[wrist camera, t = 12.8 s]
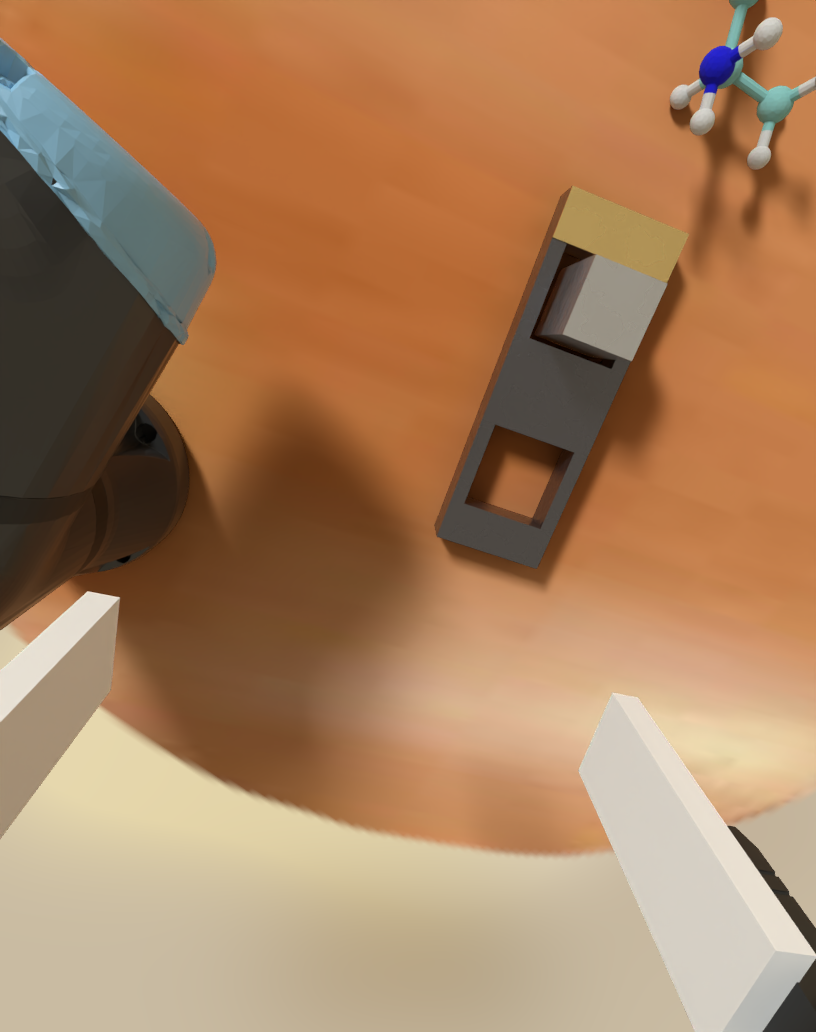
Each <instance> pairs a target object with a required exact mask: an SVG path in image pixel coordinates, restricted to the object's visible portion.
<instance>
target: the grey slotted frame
mask: <svg viewBox="0 0 816 1032" xmlns="http://www.w3.org/2000/svg"><path fill="white" fill-rule="evenodd" d="M688 235H689V234H688V233H685V232H683V231H680V230H678V229H676V228H673V227H671V226H668V225H666V224H664V223H661V222H659V221H656V220H654V219H652V218H649V217H647V216H644V215H642V214H640V213H637V212H635V211H632V210H630V209H628V208H625V207H623V206H620V205H618V204H616V203H613V202H611V201H608V200H606V199H604V198H601V197H599V196H596V195H594V194H592V193H589V192H587V191H584V190H582V189H580V188H577V187H575V186H572V187H571V188H569V189H568V190H567V191H566V192H565V193H564V194H563V195H562V196H561V197H560V199H559V202H558V205H557V207H556V210H555V212H554V215H553V218H552V220H551V223H550V225H549V228H548V231H547V233H546V236H545V239H544V241H543V244H542V246H541V249H540V252H539V254H538V257H537V259H536V262H535V265H534V267H533V270H532V272H531V275H530V278H529V280H528V283H527V285H526V288H525V291H524V293H523V296H522V299H521V301H520V304H519V306H518V309H517V312H516V314H515V317H514V319H513V322H512V325H511V327H510V330H509V332H508V335H507V338H506V340H505V343H504V346H503V348H502V351H501V353H500V356H499V359H498V361H497V364H496V366H495V369H494V372H493V374H492V377H491V379H490V382H489V385H488V387H487V390H486V392H485V395H484V398H483V400H482V403H481V406H480V408H479V411H478V413H477V416H476V419H475V421H474V424H473V426H472V429H471V432H470V434H469V437H468V439H467V442H466V445H465V447H464V450H463V452H462V455H461V458H460V460H459V463H458V466H457V468H456V471H455V473H454V476H453V479H452V481H451V484H450V486H449V489H448V492H447V494H446V497H445V499H444V502H443V505H442V507H441V510H440V513H439V515H438V518H437V520H436V523H435V530H436V535H437V537H440V538H443V539H446V540H449V541H452V542H455V543H458V544H462V545H465V546H468V547H471V548H474V549H477V550H480V551H483V552H486V553H489V554H492V555H495V556H498V557H502V558H505V559H508V560H511V561H514V562H517V563H520V564H523V565H526V566H529V567H532V568H535V569H537V567H538V565H539V563H540V561H541V558H542V556H543V554H544V552H545V550H546V547H547V545H548V543H549V541H550V539H551V536H552V534H553V532H554V530H555V528H556V525H557V523H558V521H559V519H560V517H561V514H562V512H563V510H564V508H565V505H566V503H567V501H568V499H569V497H570V494H571V492H572V490H573V488H574V486H575V483H576V481H577V479H578V477H579V475H580V472H581V470H582V468H583V466H584V464H585V461H586V459H587V457H588V455H589V453H590V450H591V448H592V446H593V444H594V441H595V439H596V437H597V435H598V433H599V430H600V428H601V426H602V424H603V422H604V419H605V417H606V415H607V413H608V411H609V408H610V406H611V404H612V402H613V400H614V397H615V395H616V393H617V391H618V388H619V386H620V384H621V382H622V380H623V377H624V375H625V373H626V371H627V369H628V366H629V364H630V362H631V361H624V360H613V359H602V361H601V363H600V365H599V364H597V363H594V362H591V361H589V360H586V359H583V358H581V357H578V356H575V355H573V354H570V353H568V352H565V351H562V350H560V349H557V348H554V347H552V346H549V345H546V344H544V343H541V342H538V341H536V340H533V339H530V336H531V333H532V330H533V328H534V325H535V323H536V320H537V318H538V315H539V313H540V310H541V308H542V305H543V303H544V300H545V298H546V295H547V293H548V290H549V287H550V285H551V282H552V280H553V277H554V275H555V272H556V270H557V267H558V265H559V262H560V260H561V257H562V255H563V252H564V253H566V254H569V255H571V256H574V257H576V258H579V259H581V260H584V259H586V258H589V257H591V256H593V255H595V254H597V255H600V256H602V257H604V258H607V259H609V260H612V261H614V262H616V263H619V264H621V265H624V266H626V267H629V268H631V269H633V270H636V271H638V272H641V273H643V274H645V275H648V276H650V277H653V278H655V279H658V280H660V281H662V282H665V283H667V282H668V280H669V277H670V275H671V273H672V271H673V269H674V266H675V264H676V262H677V260H678V258H679V255H680V253H681V251H682V249H683V246H684V244H685V242H686V240H687V238H688ZM495 425H498V426H501V427H504V428H506V429H509V430H512V431H515V432H518V433H521V434H523V435H526V436H529V437H532V438H535V439H537V440H540V441H543V442H546V443H549V444H552V445H554V446H557V447H560V448H563V450H562V452H561V455H560V457H559V459H558V461H557V464H556V466H555V468H554V471H553V473H552V475H551V477H550V480H549V482H548V484H547V487H546V489H545V491H544V493H543V496H542V498H541V500H540V503H539V505H538V507H537V509H536V512H535V514H534V516H533V519H532V518H529V517H526V516H523V515H521V514H518V513H515V512H512V511H509V510H506V509H503V508H500V507H497V506H494V505H491V504H488V503H485V502H482V501H479V500H476V499H473V498H470V497H467V495H468V492H469V490H470V487H471V485H472V482H473V480H474V477H475V475H476V472H477V470H478V467H479V465H480V462H481V460H482V457H483V454H484V452H485V449H486V447H487V444H488V442H489V439H490V437H491V434H492V432H493V429H494V427H495Z"/></svg>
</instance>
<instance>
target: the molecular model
mask: <svg viewBox="0 0 816 1032" xmlns="http://www.w3.org/2000/svg"><path fill="white" fill-rule="evenodd" d="M757 1H758V0H729V3H730V4H731V5H732V7H733V8H734V9H735V13H734V16H733V20H732V24H731V27H730V30H729V34H728V38H727V41H726V45H725V46H719V47H717V48H714V49H713V50H711V51H710V52H709V53H708V54H707V55H706V56H705V57H704V59H703V61H702V63H701V65H700V70H699V77H700V79H698V80H697V81H695V82H694V83H692V84H691V85H689V86H687V85H680V86H678V87H676V88H675V90H674V91H673V92H672V94H671V96H670V104H671V106H672V107H673V108H674V109H678V110H679V109H682V108H684V107H685V106H687V105H688V104H689V102H690V100H691V97H692V96H693V95H695V94H697V93H698V92H700V91H701V90H703V89H704V88H705V91H704V95H703V98H702V102H701V106H700V109H699V110H698V111H697V112H696V113H695V114H694V115H693V116H692V118H691V120H690V130H691V131H692V133H693V134H695V135H703V134H705V133H707V132H708V131H710V129H711V128H712V126H713V125H714V121H715V114H714V112H713V111H712V106H713V103H714V99H715V96H716V92H717V89H723V88H726V87H728V86H730V85H731V84H734V85H735V86H737V87H738V88H739V89H741V90H742V91H744V92H745V93H746V94H748V95H749V96H750V97H752V98H753V99H755V100H756V101H757V102H759V103H758V106H757V116H758V118H759V120H760V121H761V122H762V123H764V125H763V128H762V132H761V134H760V137H759V141H758V144H757V147H756V148H754V149H753V150H752V151H751V152H750V154H749V155H748V158H747V164H748V166H749V167H750V168H751V169H754V170H757V169H761V168H763V167H764V166H765V165H766V164H767V163H768V162H769V160H770V158H771V151H770V149H769V148H768V145H769V142H770V139H771V136H772V132H773V129H774V126H775V123H777V122H780V121H782V120H783V119H784V118H785V117H786V116H787V115H788V114H789V112H790V111H791V109H792V107H793V104H794V101H796V100H798V99H799V98H801V97H803V96H805V95H807V94H809V93H810V92H812V91H814V90H816V77H814V78H812V79H810V80H809V81H807V82H805V83H803V84H801V85H800V86H798V87H796V88H794V89H792V90H791V89H790V88H788V87H787V86H777V87H774V88H772V89H770V90H769V91H767V90H766V89H764V88H763V87H762V86H760V85H759V84H757V83H756V82H755V81H754V80H752V79H751V78H749V77H748V76H747V75H745V74H744V73H743V72H741V71H742V68H743V58H744V57H745V56H747V55H748V54H750V53H751V52H753V51H754V50H756V49H759V50H767V49H769V48H771V47H773V46H774V45H775V44H776V43H777V42H778V40H779V38H780V36H781V34H782V30H783V25H782V23H781V21H780V20H779V19H777V18H768V19H766V20H764V21H763V22H762V23H761V24H759V26H758V27H757V29H756V30H755V33H754V36H752V37H751V38H749V39H748V40H746V41H745V42H743V43H742V44H740V45H739V46H737V44H738V41H739V37H740V34H741V30H742V27H743V23H744V20H745V16H746V13H747V9H748V8H750V7H752V6H753V5H754V4H755V3H756V2H757Z"/></svg>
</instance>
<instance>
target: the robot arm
mask: <svg viewBox="0 0 816 1032" xmlns="http://www.w3.org/2000/svg"><path fill="white" fill-rule="evenodd" d="M215 270H216V254H215V249H214V245H213V242H212V240H211V237H210V235H209V233H208V232H207V230H206V229H205V227H204V226H203V225H202V223H201V222H200V221H199V220H198V219H197V218H196V217H195V216H194V215H193V214H192V213H191V212H190V211H189V210H188V209H187V208H186V207H185V206H184V205H183V204H182V203H181V202H180V201H179V200H178V199H177V198H176V197H175V196H174V195H173V194H172V193H171V192H170V191H168V190H167V189H166V188H165V187H164V186H163V185H162V184H161V183H160V182H159V181H158V180H157V179H156V178H155V177H154V176H152V175H151V174H150V173H149V172H148V171H147V170H146V169H145V168H144V167H143V166H142V165H141V164H140V163H139V162H137V161H136V160H135V159H134V158H133V157H132V156H131V155H130V154H129V153H128V152H127V151H126V150H125V149H123V148H122V147H121V146H120V145H119V144H118V143H117V142H116V141H115V140H114V139H113V138H111V137H110V136H109V135H108V134H107V133H106V132H105V131H104V130H103V129H102V128H100V127H99V126H98V125H97V124H96V123H95V122H94V121H93V120H92V119H91V118H90V117H88V116H87V115H86V114H85V113H84V112H83V111H82V110H81V109H80V108H79V107H77V106H76V105H75V104H74V103H73V102H72V101H71V100H70V99H69V98H68V97H66V96H65V95H64V94H63V93H62V92H61V91H60V90H59V89H57V88H56V87H55V86H54V85H53V84H52V83H51V82H50V81H48V80H47V79H46V78H45V77H44V76H43V75H42V74H40V73H39V72H38V71H36V70H35V69H34V68H33V67H32V66H31V65H30V64H29V63H28V62H27V61H26V60H25V59H24V58H23V57H22V56H20V55H19V54H18V53H17V52H16V51H15V50H14V49H12V48H11V47H10V46H9V45H8V44H7V43H6V42H5V41H3V40H2V39H1V38H0V630H2V629H3V628H4V627H6V626H7V625H8V624H10V623H11V622H12V621H14V620H15V619H16V618H18V617H19V616H20V615H22V614H23V613H25V612H26V611H27V610H29V609H30V608H31V607H33V606H34V605H35V604H37V603H38V602H39V601H41V600H42V599H43V598H45V597H46V596H47V595H49V594H50V593H52V592H53V591H54V590H56V589H57V588H58V587H60V586H61V585H62V584H64V583H65V582H66V581H68V580H69V579H70V578H72V577H73V576H78V575H83V574H89V573H94V572H99V571H105V570H110V569H114V568H117V567H121V566H123V565H126V564H128V563H130V562H132V561H134V560H136V559H138V558H140V557H142V556H143V555H145V554H146V553H147V552H149V551H150V550H151V549H152V548H153V547H155V546H156V545H157V544H158V543H159V542H161V541H162V540H163V539H164V538H165V537H166V536H167V535H168V534H169V533H170V532H171V530H172V529H173V528H174V526H175V525H176V523H177V522H178V520H179V518H180V516H181V514H182V512H183V510H184V507H185V504H186V500H187V496H188V490H189V467H188V460H187V455H186V452H185V448H184V445H183V442H182V440H181V437H180V435H179V433H178V431H177V429H176V427H175V425H174V424H173V422H172V420H171V419H170V417H169V416H168V414H167V413H166V412H165V410H164V409H163V408H162V407H161V405H160V404H159V403H158V402H157V401H156V400H155V399H154V398H153V397H152V396H151V395H150V392H151V390H152V389H153V387H154V385H155V383H156V382H157V380H158V378H159V377H160V375H161V373H162V372H163V370H164V368H165V366H166V365H167V363H168V361H169V360H170V358H171V356H172V355H173V353H174V351H175V349H176V348H177V346H178V344H182V345H184V344H185V342H186V341H187V339H188V332H187V328H188V326H189V324H190V322H191V321H192V319H193V317H194V315H195V313H196V311H197V309H198V307H199V305H200V303H201V301H202V300H203V298H204V296H205V294H206V292H207V290H208V288H209V286H210V284H211V282H212V280H213V277H214V274H215ZM119 603H120V597H115V596H110V595H105V594H99V593H94V592H89V591H87V592H86V593H85V594H84V595H83V596H82V597H81V598H80V599H79V600H77V601H76V602H75V603H74V604H73V605H72V606H71V607H70V608H69V609H68V610H66V611H65V612H64V613H63V614H62V615H61V616H60V617H59V618H58V619H56V620H55V621H54V622H53V623H52V624H51V625H50V626H49V627H48V628H47V629H45V630H44V631H43V632H42V633H41V634H40V635H39V636H38V637H37V638H35V639H34V640H33V641H32V642H31V643H30V644H29V645H28V646H27V647H26V648H24V649H23V650H22V651H21V652H20V653H19V654H18V655H17V656H16V657H15V658H13V659H12V660H11V661H10V662H9V663H8V664H7V665H6V666H5V667H3V669H1V670H0V839H1V838H2V836H3V835H4V833H5V832H6V831H7V829H8V828H9V827H10V825H11V824H12V823H13V821H14V820H15V819H16V817H17V816H18V814H19V813H20V812H21V810H22V809H23V808H24V806H25V805H26V804H27V802H28V801H29V800H30V798H31V797H32V796H33V794H34V793H35V792H36V790H37V789H38V787H39V786H40V785H41V784H42V782H43V781H44V779H45V778H46V777H47V775H48V774H49V773H50V771H51V770H52V769H53V767H54V766H55V765H56V763H57V762H58V761H59V759H60V758H61V757H62V755H63V754H64V753H65V751H66V750H67V748H68V747H69V746H70V744H71V743H72V742H73V740H74V739H75V738H76V736H77V735H78V733H79V732H80V731H81V730H82V728H83V727H84V725H85V724H86V723H87V721H88V720H89V719H90V717H91V716H92V715H93V713H94V712H95V711H96V709H97V708H98V707H99V705H100V704H101V703H102V701H103V700H104V699H105V697H106V696H107V695H108V693H109V692H110V690H111V684H112V674H113V664H114V654H115V644H116V634H117V623H118V613H119ZM578 771H579V773H580V776H581V778H582V780H583V782H584V785H585V787H586V789H587V791H588V794H589V796H590V798H591V800H592V802H593V805H594V807H595V809H596V811H597V814H598V816H599V818H600V820H601V823H602V825H603V827H604V829H605V832H606V834H607V836H608V838H609V841H610V843H611V845H612V847H613V850H614V852H615V854H616V856H617V859H618V860H619V863H620V865H621V867H622V870H623V872H624V874H625V876H626V879H627V881H628V883H629V886H630V888H631V890H632V892H633V894H634V897H635V899H636V901H637V903H638V906H639V908H640V910H641V912H642V915H643V917H644V919H645V921H646V923H647V926H648V928H649V930H650V933H651V935H652V937H653V939H654V942H655V944H656V946H657V948H658V951H659V953H660V955H661V957H662V959H663V962H664V964H665V966H666V969H667V971H668V973H669V975H670V978H671V980H672V982H673V984H674V987H675V989H676V991H677V993H678V995H679V998H680V1000H681V1002H682V1005H683V1006H684V1009H685V1011H686V1013H687V1016H688V1018H689V1020H690V1022H691V1025H692V1027H693V1029H694V1031H695V1032H816V928H815V927H814V925H813V924H812V923H811V921H810V920H809V919H808V917H807V916H806V914H805V913H804V912H803V910H802V909H801V907H800V906H799V905H798V903H797V902H796V900H795V899H794V898H793V897H791V896H790V895H789V891H788V889H787V888H786V887H785V885H784V884H783V883H782V881H781V880H780V878H779V877H776V876H775V871H774V870H773V869H772V867H771V866H770V864H769V863H768V862H767V860H766V859H765V858H764V856H763V855H762V853H761V852H760V851H759V849H758V848H757V847H756V846H755V845H754V844H753V843H752V842H750V841H749V840H748V839H747V838H746V837H745V836H744V835H743V834H742V833H741V832H740V831H739V830H738V829H737V828H736V827H733V826H727V825H726V824H725V822H724V821H723V820H722V818H721V817H720V815H719V814H718V812H717V811H716V809H715V808H714V807H713V805H712V804H711V802H710V801H709V799H708V798H707V796H706V795H705V794H704V792H703V791H702V789H701V788H700V786H699V785H698V784H697V782H696V781H695V779H694V778H693V776H692V775H691V773H690V772H689V771H688V769H687V768H686V766H685V765H684V763H683V762H682V760H681V759H680V758H679V756H678V755H677V753H676V752H675V750H674V749H673V747H672V746H671V745H670V743H669V742H668V740H667V739H666V737H665V736H664V734H663V733H662V732H661V730H660V729H659V727H658V726H657V724H656V723H655V722H654V720H653V719H652V717H651V716H650V714H649V713H648V711H647V710H646V709H645V707H644V706H643V704H642V703H641V701H640V700H639V698H638V697H632V696H627V695H622V694H617V693H612V695H611V697H610V699H609V701H608V704H607V706H606V708H605V711H604V713H603V715H602V718H601V720H600V722H599V724H598V727H597V729H596V731H595V734H594V736H593V738H592V740H591V743H590V745H589V747H588V750H587V752H586V754H585V756H584V759H583V761H582V763H581V766H580V768H579V770H578Z"/></svg>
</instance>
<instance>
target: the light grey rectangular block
mask: <svg viewBox="0 0 816 1032" xmlns="http://www.w3.org/2000/svg"><path fill="white" fill-rule="evenodd" d="M666 286H667V283H665V282H662V281H660V280H658V279H655V278H653V277H650V276H648V275H645V274H643V273H641V272H638V271H636V270H633V269H631V268H629V267H626V266H624V265H621V264H619V263H616V262H614V261H612V260H609V259H607V258H604V257H602V256H600V255H597V254H595V255H593V256H591V257H589V258H586V259H584V260H582V261H579V262H577V263H575V264H572V265H570V266H568V267H565V268H563V269H561V271H560V273H559V276H558V278H557V280H556V283H555V285H554V288H553V290H552V293H551V295H550V298H549V300H548V303H547V305H546V308H545V310H544V312H543V315H542V317H541V320H540V322H539V325H538V327H537V330H536V332H535V336H538V337H540V338H543V339H546V340H548V341H551V342H553V343H556V344H558V345H561V346H564V347H566V348H569V349H571V350H574V351H576V352H579V353H582V354H584V355H587V356H589V357H592V358H602V359H613V360H624V361H632V360H633V358H634V356H635V353H636V351H637V349H638V347H639V345H640V343H641V340H642V338H643V336H644V334H645V332H646V330H647V327H648V325H649V323H650V321H651V319H652V317H653V315H654V312H655V310H656V308H657V306H658V304H659V302H660V299H661V297H662V295H663V293H664V291H665V289H666Z"/></svg>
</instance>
